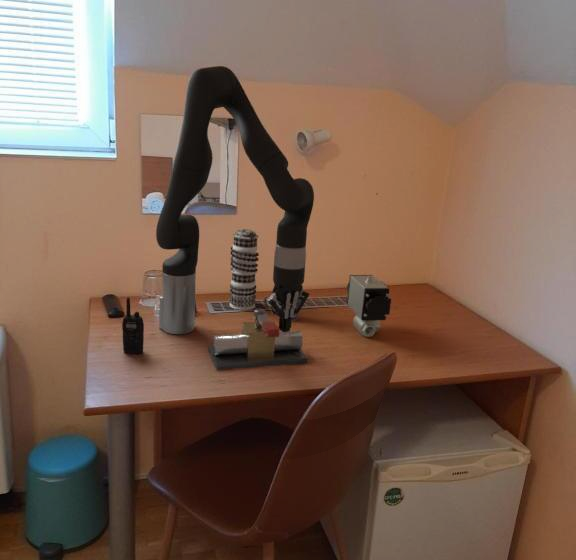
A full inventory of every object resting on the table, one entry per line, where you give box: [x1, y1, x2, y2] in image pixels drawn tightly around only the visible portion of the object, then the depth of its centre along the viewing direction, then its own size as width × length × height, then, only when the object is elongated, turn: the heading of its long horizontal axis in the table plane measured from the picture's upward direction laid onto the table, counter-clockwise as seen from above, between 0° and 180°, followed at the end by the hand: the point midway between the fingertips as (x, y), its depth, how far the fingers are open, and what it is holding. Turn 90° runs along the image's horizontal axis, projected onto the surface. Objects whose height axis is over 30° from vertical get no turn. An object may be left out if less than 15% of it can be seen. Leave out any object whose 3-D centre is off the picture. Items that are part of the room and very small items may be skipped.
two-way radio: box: [121, 297, 145, 355], centre depth 151 cm, size 6×4×15 cm
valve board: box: [207, 319, 309, 371], centre depth 154 cm, size 24×12×11 cm, turn 107°
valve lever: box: [253, 308, 281, 338], centre depth 147 cm, size 14×3×2 cm, turn 18°
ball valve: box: [346, 274, 392, 338], centre depth 175 cm, size 18×8×18 cm, turn 14°
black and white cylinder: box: [228, 228, 260, 311], centre depth 189 cm, size 9×9×25 cm
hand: (284, 330), depth 145 cm, fingers closed
